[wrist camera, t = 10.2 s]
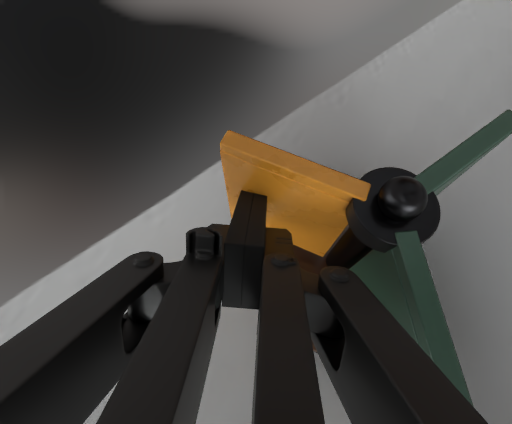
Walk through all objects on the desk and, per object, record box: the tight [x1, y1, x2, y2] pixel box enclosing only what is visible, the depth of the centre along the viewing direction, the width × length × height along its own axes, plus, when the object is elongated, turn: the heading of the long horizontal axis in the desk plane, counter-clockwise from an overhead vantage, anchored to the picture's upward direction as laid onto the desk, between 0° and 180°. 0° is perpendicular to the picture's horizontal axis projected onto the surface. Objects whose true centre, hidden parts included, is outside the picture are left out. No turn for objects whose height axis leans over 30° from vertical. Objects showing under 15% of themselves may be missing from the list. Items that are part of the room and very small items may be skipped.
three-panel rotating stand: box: [220, 110, 512, 406], centre depth 16 cm, size 14×14×11 cm
